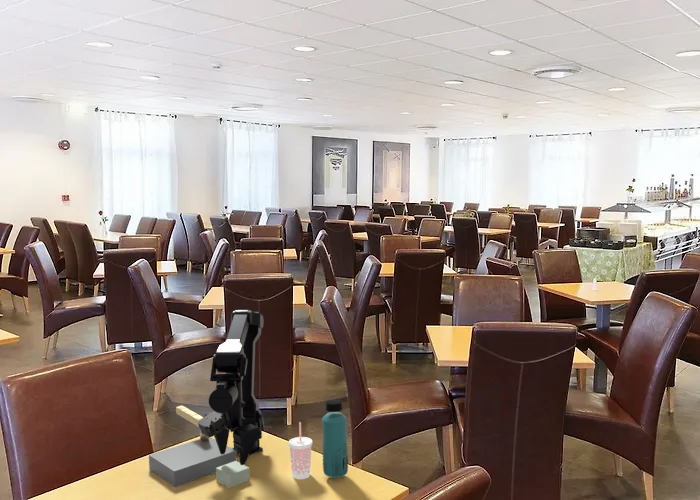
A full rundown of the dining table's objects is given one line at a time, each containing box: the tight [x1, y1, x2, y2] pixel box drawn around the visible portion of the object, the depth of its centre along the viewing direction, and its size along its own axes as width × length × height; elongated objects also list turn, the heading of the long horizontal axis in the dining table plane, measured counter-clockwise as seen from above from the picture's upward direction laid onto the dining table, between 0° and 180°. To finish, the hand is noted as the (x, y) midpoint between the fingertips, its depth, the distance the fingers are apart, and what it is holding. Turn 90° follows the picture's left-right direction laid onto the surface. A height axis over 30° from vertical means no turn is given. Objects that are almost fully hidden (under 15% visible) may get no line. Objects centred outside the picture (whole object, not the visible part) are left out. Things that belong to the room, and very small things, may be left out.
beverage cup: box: [288, 421, 313, 480], centre depth 162 cm, size 6×6×14 cm
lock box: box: [148, 437, 237, 487], centre depth 168 cm, size 18×14×4 cm
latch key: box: [175, 405, 209, 441], centre depth 182 cm, size 17×2×6 cm, turn 40°
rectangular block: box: [215, 460, 251, 489], centre depth 160 cm, size 6×6×4 cm
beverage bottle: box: [321, 399, 349, 478], centre depth 160 cm, size 6×7×20 cm
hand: (232, 459), depth 160 cm, fingers open, 9 cm apart
